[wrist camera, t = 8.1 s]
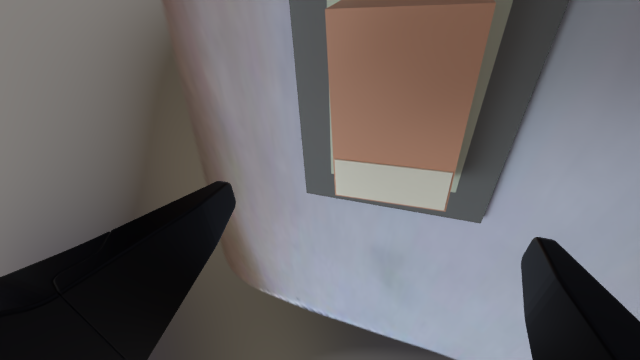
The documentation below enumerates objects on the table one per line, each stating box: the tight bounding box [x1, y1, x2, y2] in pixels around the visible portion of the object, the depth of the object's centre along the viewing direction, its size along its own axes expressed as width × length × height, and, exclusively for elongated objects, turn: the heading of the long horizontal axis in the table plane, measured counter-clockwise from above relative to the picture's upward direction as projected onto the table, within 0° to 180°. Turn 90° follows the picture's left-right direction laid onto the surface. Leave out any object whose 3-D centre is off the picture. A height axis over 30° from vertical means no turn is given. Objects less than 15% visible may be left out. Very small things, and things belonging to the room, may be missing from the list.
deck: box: [325, 0, 496, 212], centre depth 15 cm, size 10×6×3 cm, turn 4°
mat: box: [289, 0, 569, 223], centre depth 16 cm, size 16×12×1 cm
